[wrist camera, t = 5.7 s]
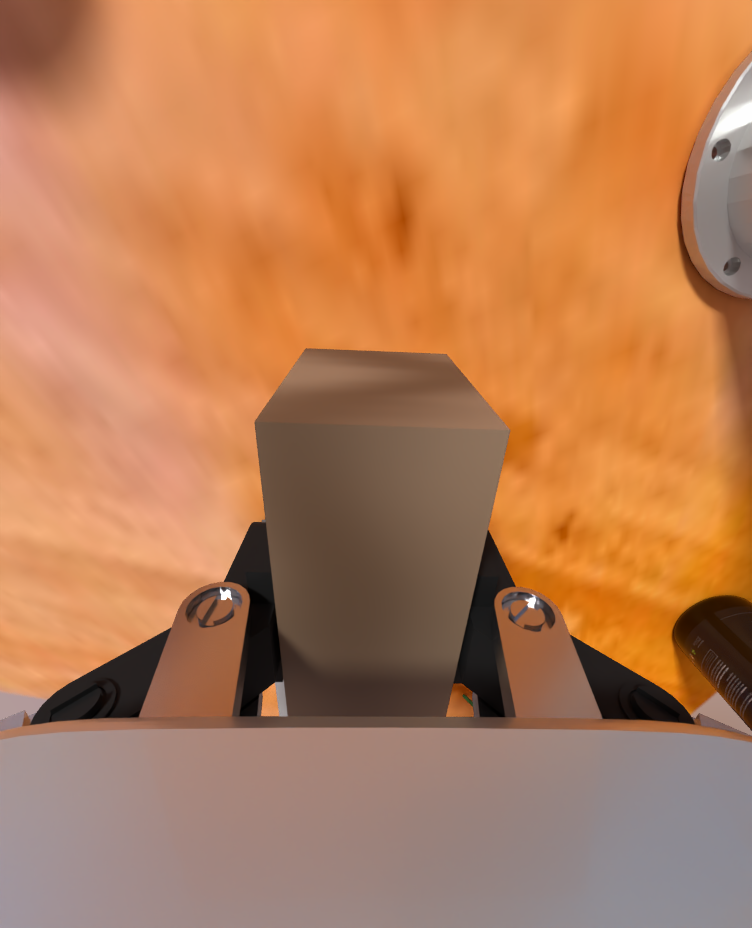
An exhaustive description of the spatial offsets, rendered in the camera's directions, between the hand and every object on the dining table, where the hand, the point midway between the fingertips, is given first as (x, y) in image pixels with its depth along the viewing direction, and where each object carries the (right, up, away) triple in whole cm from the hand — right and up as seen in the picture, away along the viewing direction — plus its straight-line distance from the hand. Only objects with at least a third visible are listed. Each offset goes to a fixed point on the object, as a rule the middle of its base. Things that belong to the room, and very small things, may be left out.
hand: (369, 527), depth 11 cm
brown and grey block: (0, -3, +2) cm, 4 cm away
